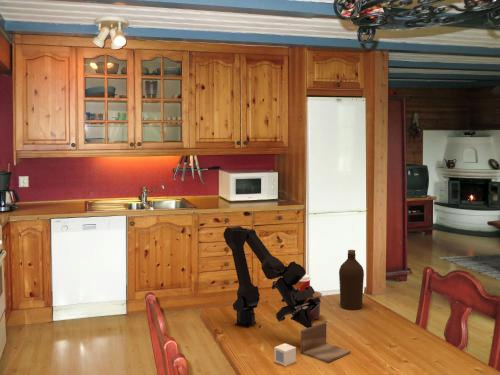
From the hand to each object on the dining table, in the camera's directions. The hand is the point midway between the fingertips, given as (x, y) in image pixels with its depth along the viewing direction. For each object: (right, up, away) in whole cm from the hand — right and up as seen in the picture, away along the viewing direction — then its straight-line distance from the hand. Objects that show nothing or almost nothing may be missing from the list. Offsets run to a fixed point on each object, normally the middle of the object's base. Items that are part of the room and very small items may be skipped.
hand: (311, 329), depth 190 cm
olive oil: (+23, -3, +46) cm, 52 cm away
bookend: (+4, -7, -4) cm, 9 cm away
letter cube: (-10, -8, -11) cm, 17 cm away
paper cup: (+1, -3, +46) cm, 46 cm away
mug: (+3, -4, +30) cm, 31 cm away
